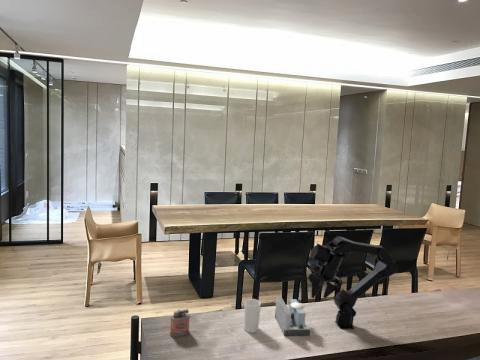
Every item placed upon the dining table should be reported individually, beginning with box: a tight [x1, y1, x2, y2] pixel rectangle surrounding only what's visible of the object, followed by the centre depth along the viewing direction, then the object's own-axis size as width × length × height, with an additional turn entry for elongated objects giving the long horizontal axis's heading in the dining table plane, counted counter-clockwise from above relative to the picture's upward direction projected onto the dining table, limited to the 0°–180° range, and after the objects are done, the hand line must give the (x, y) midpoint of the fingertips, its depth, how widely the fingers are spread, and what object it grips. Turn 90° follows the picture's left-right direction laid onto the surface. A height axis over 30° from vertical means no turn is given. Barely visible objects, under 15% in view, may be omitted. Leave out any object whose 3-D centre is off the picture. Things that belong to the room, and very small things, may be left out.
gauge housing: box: [274, 295, 311, 337], centre depth 176 cm, size 11×17×10 cm, turn 9°
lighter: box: [169, 308, 191, 337], centre depth 164 cm, size 8×3×10 cm, turn 117°
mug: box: [243, 298, 262, 333], centre depth 173 cm, size 10×7×12 cm, turn 10°
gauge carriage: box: [288, 298, 306, 328], centre depth 175 cm, size 6×15×9 cm, turn 9°
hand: (318, 297), depth 177 cm, fingers open, 9 cm apart
